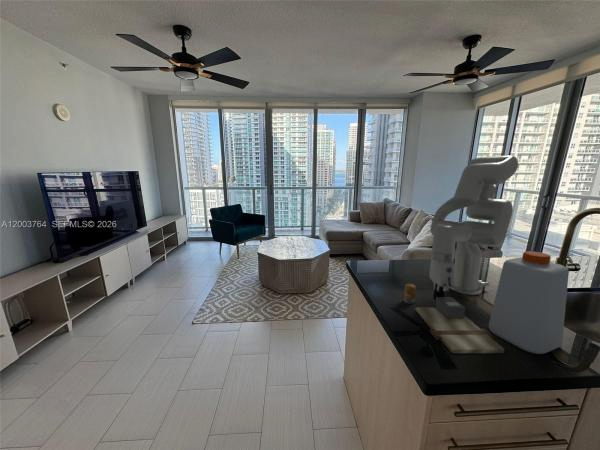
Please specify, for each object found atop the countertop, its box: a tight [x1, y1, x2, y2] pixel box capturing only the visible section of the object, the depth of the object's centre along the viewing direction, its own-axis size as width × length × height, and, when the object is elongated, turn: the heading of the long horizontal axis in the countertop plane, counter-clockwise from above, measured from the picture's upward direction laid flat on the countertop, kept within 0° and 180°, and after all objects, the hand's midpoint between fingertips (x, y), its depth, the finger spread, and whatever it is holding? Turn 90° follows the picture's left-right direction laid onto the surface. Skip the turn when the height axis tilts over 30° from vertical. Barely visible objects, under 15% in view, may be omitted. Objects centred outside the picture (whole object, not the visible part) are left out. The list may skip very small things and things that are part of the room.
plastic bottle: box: [488, 250, 570, 355], centre depth 76 cm, size 15×15×28 cm
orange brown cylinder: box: [403, 283, 417, 305], centre depth 102 cm, size 4×4×7 cm
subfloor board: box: [415, 306, 505, 354], centre depth 84 cm, size 18×24×1 cm
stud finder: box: [434, 296, 466, 318], centre depth 91 cm, size 6×8×4 cm
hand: (438, 299), depth 99 cm, fingers closed
